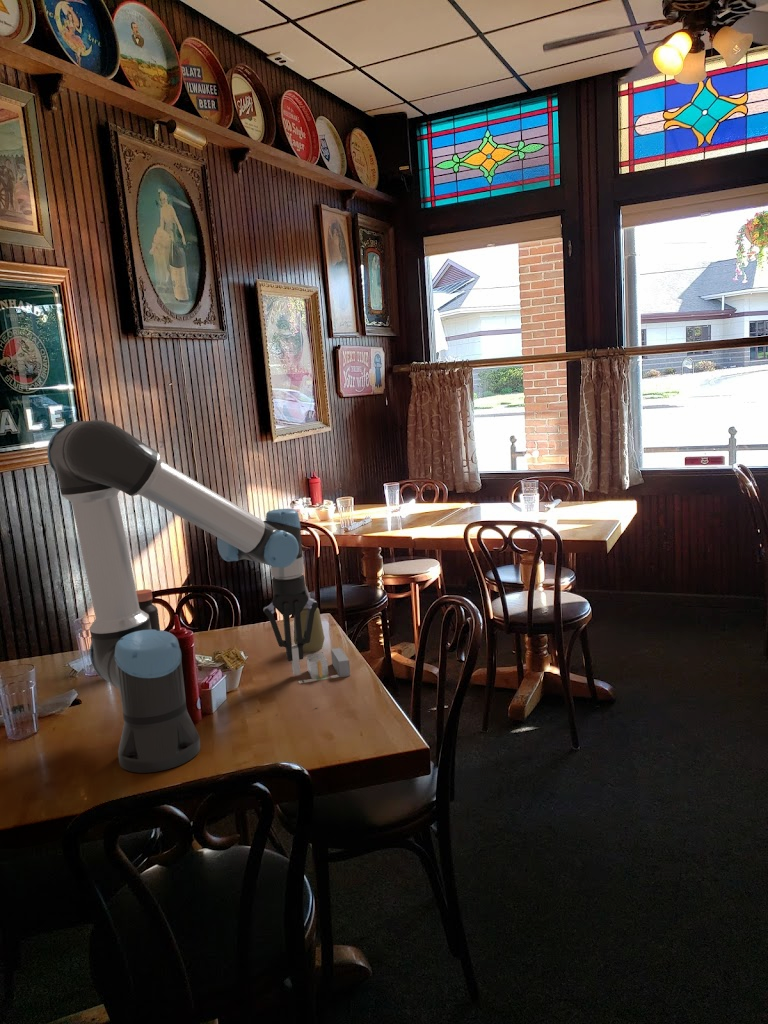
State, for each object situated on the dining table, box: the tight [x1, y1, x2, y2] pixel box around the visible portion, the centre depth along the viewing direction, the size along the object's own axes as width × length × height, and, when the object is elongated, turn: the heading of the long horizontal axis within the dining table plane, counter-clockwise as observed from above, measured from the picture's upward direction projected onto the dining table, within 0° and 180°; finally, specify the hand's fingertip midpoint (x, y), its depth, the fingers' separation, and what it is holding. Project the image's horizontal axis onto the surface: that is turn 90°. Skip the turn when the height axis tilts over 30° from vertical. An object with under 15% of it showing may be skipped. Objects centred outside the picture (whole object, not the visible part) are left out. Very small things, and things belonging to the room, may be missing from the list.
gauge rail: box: [298, 647, 351, 684], centre depth 181 cm, size 10×15×5 cm, turn 105°
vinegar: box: [136, 588, 161, 631], centre depth 199 cm, size 7×7×20 cm
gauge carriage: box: [305, 652, 330, 679], centre depth 180 cm, size 7×4×4 cm, turn 15°
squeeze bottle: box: [293, 585, 325, 653], centre depth 200 cm, size 8×8×18 cm
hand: (296, 672), depth 180 cm, fingers closed
